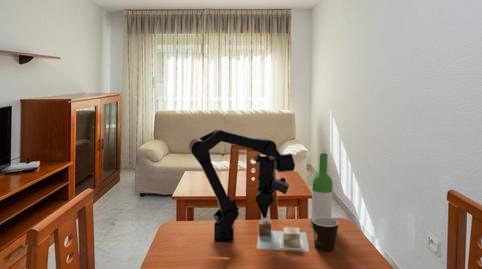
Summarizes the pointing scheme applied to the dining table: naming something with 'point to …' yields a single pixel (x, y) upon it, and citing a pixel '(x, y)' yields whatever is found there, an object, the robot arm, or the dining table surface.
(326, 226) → the coffee mug
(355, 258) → the dining table surface
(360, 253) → the dining table surface
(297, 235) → the beech block
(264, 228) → the walnut cube
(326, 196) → the wine bottle
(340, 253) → the dining table surface
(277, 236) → the build board
